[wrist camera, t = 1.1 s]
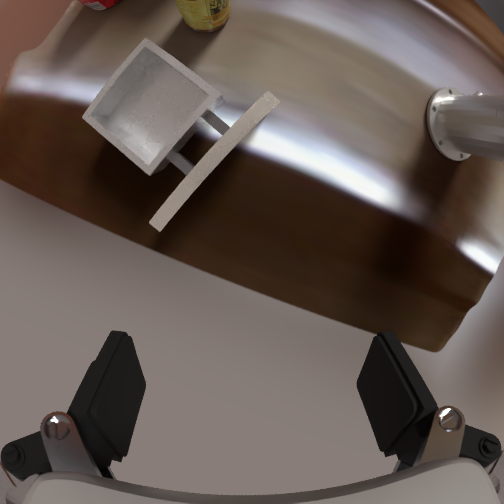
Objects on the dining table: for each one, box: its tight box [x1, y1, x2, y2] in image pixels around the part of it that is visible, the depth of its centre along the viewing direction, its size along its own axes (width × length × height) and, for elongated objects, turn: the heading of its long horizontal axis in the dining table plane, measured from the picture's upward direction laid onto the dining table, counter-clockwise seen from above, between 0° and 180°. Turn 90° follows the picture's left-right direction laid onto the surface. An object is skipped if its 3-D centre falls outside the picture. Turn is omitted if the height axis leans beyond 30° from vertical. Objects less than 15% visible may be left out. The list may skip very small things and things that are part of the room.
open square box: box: [82, 38, 280, 232], centre depth 28 cm, size 17×16×12 cm
